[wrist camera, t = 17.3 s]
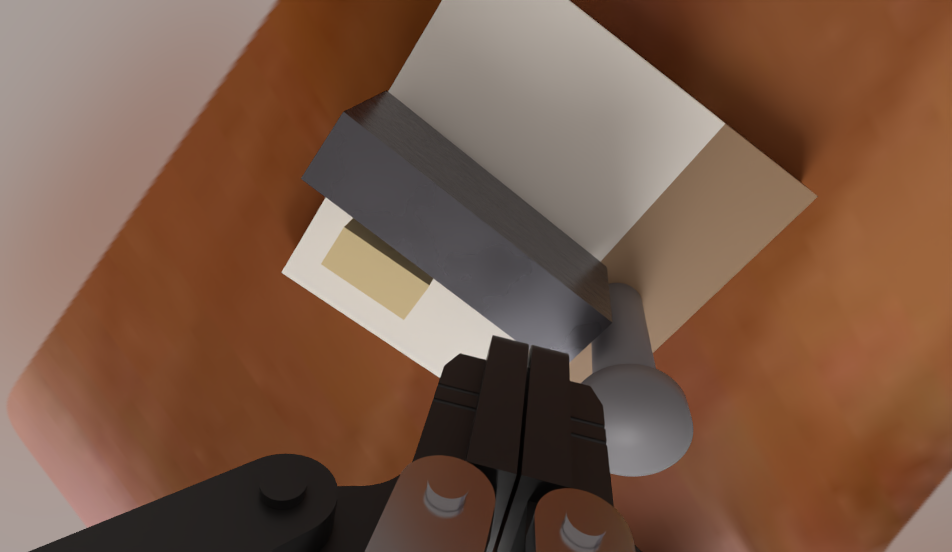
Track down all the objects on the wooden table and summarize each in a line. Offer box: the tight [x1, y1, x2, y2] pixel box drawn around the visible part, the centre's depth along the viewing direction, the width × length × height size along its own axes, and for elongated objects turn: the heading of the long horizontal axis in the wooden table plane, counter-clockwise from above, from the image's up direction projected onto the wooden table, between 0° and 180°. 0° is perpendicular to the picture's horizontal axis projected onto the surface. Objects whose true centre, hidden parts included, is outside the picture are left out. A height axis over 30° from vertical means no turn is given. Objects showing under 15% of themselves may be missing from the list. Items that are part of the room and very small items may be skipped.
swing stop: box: [301, 90, 613, 363], centre depth 24 cm, size 12×3×5 cm, turn 53°
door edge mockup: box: [281, 0, 818, 476], centre depth 24 cm, size 18×17×11 cm
